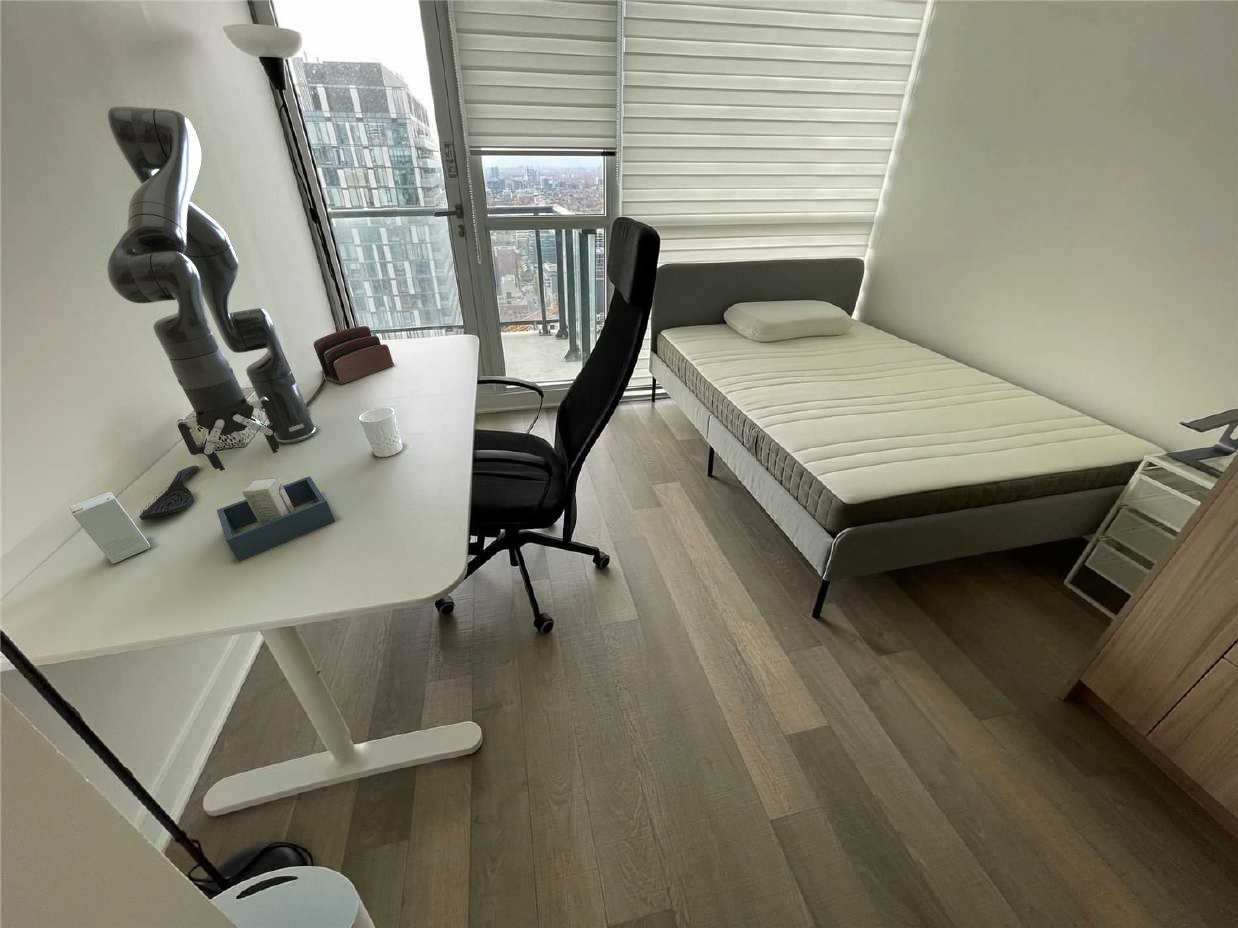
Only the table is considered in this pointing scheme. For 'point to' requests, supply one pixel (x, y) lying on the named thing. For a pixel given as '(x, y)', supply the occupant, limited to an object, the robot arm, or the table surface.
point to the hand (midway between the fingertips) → (249, 460)
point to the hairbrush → (172, 496)
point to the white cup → (381, 431)
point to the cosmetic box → (110, 527)
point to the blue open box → (275, 520)
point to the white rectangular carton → (267, 499)
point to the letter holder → (351, 354)
